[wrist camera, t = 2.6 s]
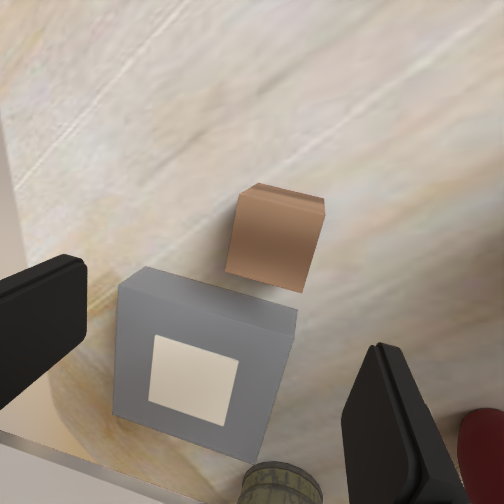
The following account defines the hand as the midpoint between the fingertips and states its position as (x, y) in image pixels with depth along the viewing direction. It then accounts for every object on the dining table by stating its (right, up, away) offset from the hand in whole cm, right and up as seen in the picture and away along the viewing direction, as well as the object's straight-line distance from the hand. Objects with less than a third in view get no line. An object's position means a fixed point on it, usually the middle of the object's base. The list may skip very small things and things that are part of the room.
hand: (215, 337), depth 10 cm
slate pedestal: (-3, -7, +19) cm, 21 cm away
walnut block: (+4, +5, +14) cm, 15 cm away
